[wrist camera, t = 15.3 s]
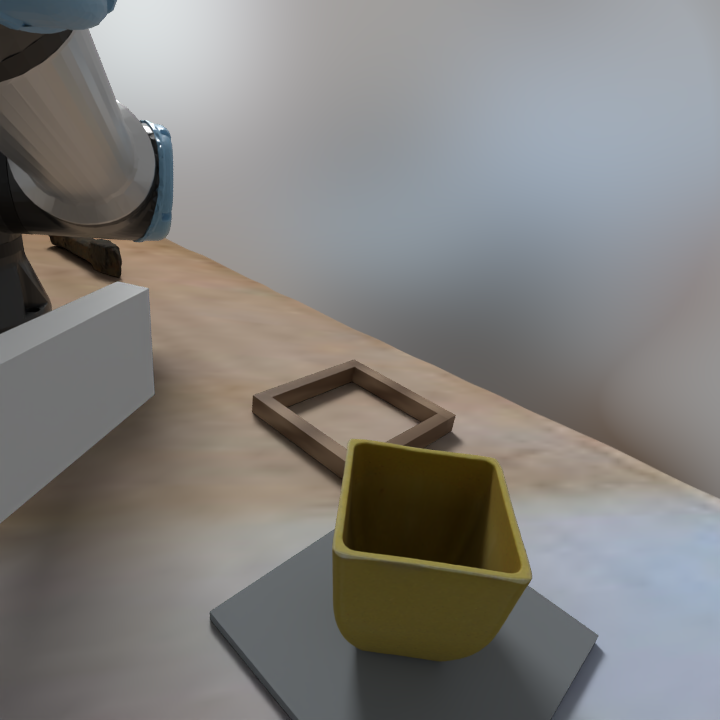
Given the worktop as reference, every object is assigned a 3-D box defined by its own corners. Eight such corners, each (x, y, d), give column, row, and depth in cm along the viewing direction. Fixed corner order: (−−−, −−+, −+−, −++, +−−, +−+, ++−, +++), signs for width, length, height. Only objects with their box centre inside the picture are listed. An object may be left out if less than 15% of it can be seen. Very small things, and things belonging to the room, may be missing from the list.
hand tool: (49, 246, 82) (44, 217, 80) (75, 244, 85) (72, 216, 83) (100, 283, 71) (97, 250, 69) (129, 279, 74) (126, 247, 72)
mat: (209, 618, 29) (209, 611, 28) (392, 496, 40) (393, 490, 39) (443, 905, 19) (446, 898, 19) (595, 642, 30) (598, 635, 30)
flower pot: (311, 680, 26) (330, 551, 22) (332, 547, 34) (349, 434, 30) (485, 707, 26) (536, 582, 22) (465, 567, 33) (499, 457, 29)
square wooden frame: (252, 411, 47) (252, 395, 47) (351, 373, 57) (354, 359, 56) (355, 489, 40) (358, 471, 39) (451, 430, 49) (455, 415, 48)
